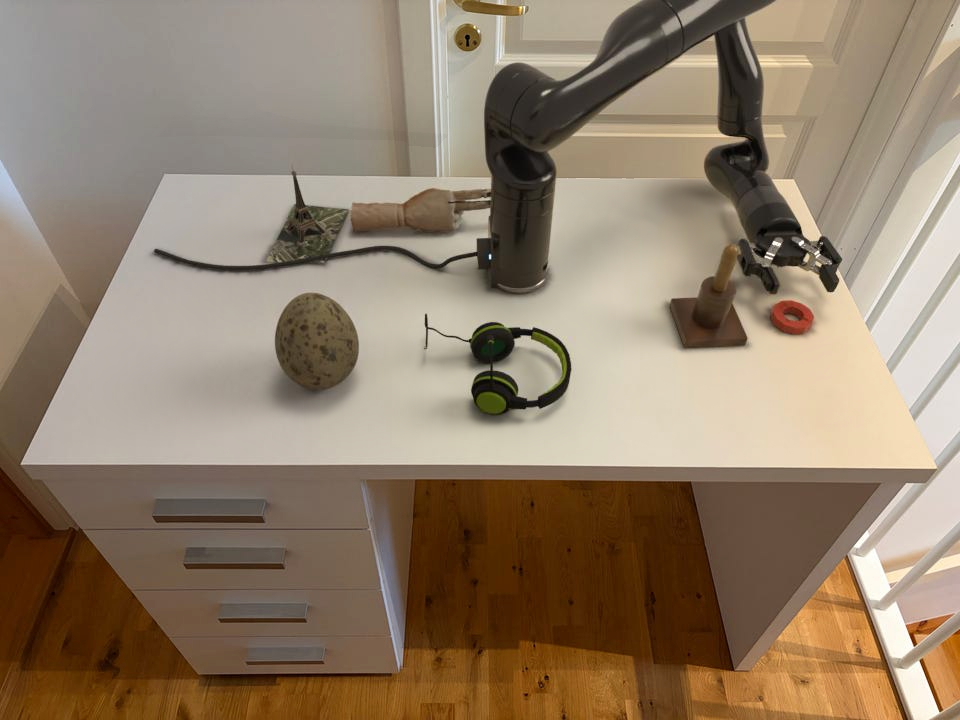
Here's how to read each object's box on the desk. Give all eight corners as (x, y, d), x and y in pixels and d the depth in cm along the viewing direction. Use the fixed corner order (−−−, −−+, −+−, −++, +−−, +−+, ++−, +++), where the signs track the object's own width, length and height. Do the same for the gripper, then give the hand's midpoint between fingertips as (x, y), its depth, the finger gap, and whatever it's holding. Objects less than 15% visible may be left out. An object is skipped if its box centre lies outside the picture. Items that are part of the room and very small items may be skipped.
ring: (778, 335, 107) (781, 328, 106) (765, 308, 111) (767, 301, 110) (816, 333, 107) (820, 326, 106) (801, 306, 111) (804, 299, 110)
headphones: (422, 286, 99) (567, 285, 100) (425, 336, 106) (561, 334, 107) (418, 374, 89) (581, 372, 89) (422, 422, 96) (573, 420, 96)
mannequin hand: (363, 225, 128) (505, 221, 125) (353, 241, 122) (502, 238, 119) (357, 185, 124) (503, 180, 121) (346, 200, 118) (500, 196, 115)
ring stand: (684, 348, 105) (709, 268, 94) (669, 305, 111) (691, 226, 100) (745, 345, 106) (777, 266, 95) (726, 303, 112) (754, 223, 101)
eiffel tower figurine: (326, 266, 117) (313, 197, 107) (265, 261, 117) (246, 191, 108) (349, 211, 127) (339, 142, 117) (293, 206, 127) (278, 138, 118)
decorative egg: (335, 418, 96) (317, 340, 85) (269, 390, 99) (243, 310, 88) (378, 365, 102) (367, 285, 91) (315, 340, 106) (297, 260, 95)
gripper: (729, 202, 112) (764, 270, 101) (819, 199, 113) (863, 267, 102) (717, 240, 118) (748, 309, 107) (803, 238, 118) (843, 306, 108)
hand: (804, 289), depth 104 cm, fingers open, 8 cm apart
